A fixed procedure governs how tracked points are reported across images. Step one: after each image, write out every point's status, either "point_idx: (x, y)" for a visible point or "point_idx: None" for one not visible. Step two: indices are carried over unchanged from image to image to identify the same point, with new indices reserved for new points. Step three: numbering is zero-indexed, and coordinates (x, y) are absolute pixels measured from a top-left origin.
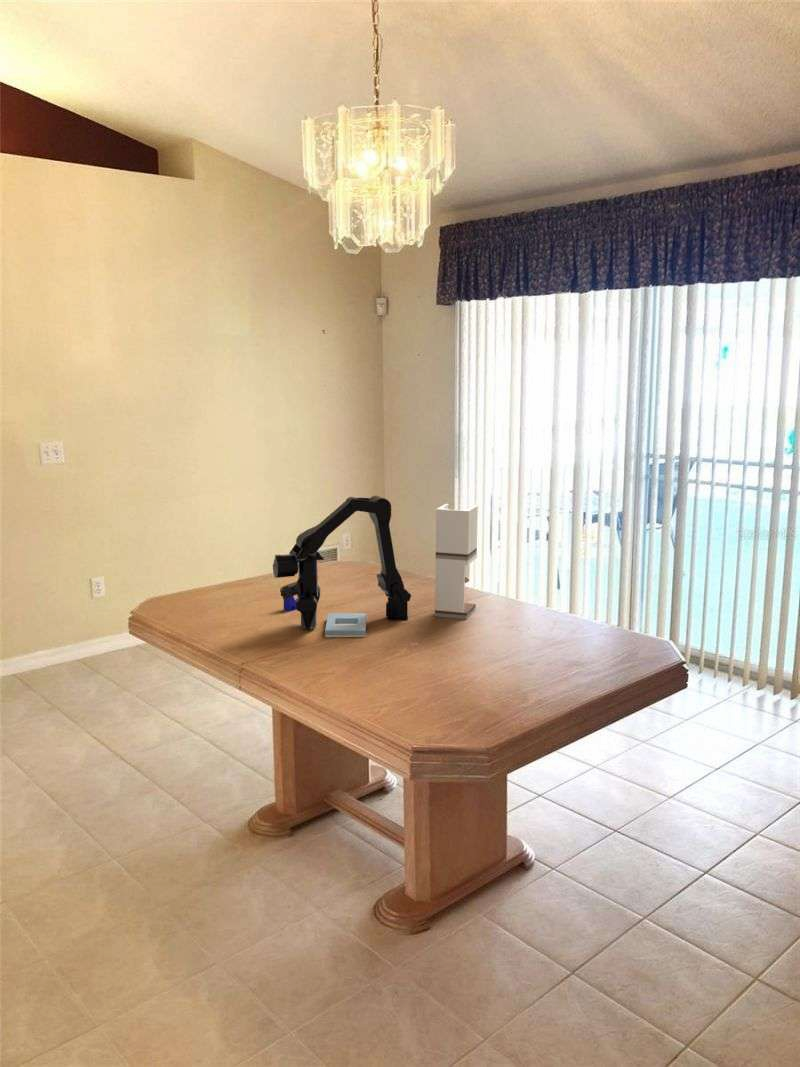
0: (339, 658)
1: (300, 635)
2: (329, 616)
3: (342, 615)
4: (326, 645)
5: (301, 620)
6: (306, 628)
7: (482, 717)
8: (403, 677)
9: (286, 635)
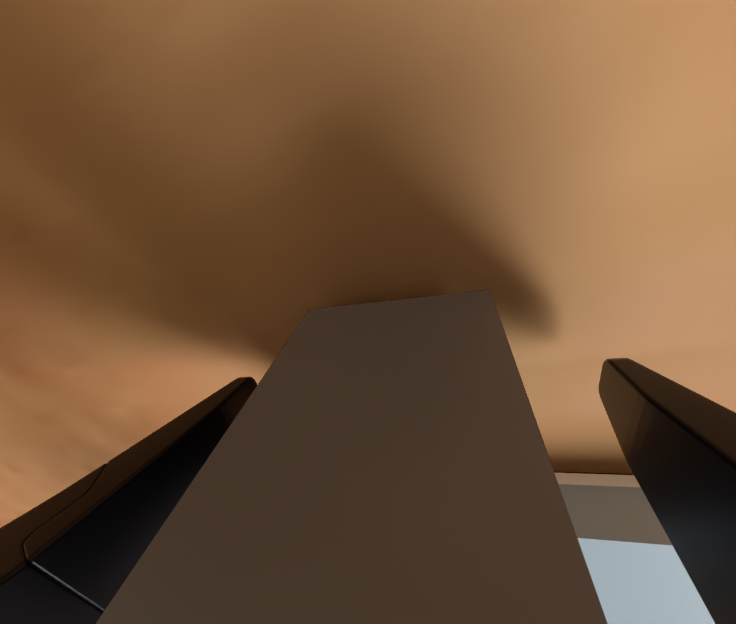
0: (26, 500)
1: (176, 319)
2: (629, 551)
3: (643, 614)
4: None
5: (274, 372)
6: (241, 381)
7: None
8: None
9: (98, 186)
